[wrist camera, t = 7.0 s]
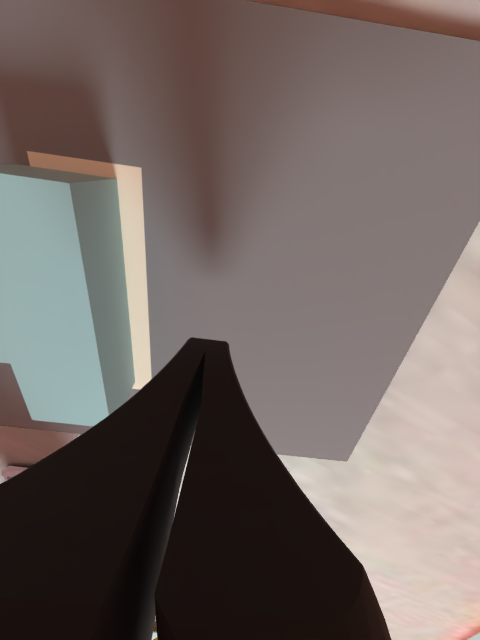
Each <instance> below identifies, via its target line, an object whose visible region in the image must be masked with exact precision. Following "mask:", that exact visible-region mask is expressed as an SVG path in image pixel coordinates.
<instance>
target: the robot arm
mask: <svg viewBox="0 0 480 640" xmlns="http://www.w3.org/2000/svg"><path fill="white" fill-rule="evenodd" d="M194 432H195V433H194ZM193 436H194V437H193ZM192 439H193V442H192ZM191 443H192V446H191ZM190 446H191V450H190ZM189 450H190V455H189V459H188V463H187V467H186V471H185V476H184V480H183V484H182V488H181V492H180V496H179V500H178V504H177V508H176V503H177V498H178V493H179V488H180V484H181V479H182V475H183V471H184V468H185V464H186V461H187V457H188V454H189ZM2 475H3V477H4V479H5V482H3V483H2V484H0V640H151V639H152V633H153V628H154V622H155V616H156V624H157V636H158V640H391V637H390V634H389V631H388V628H387V624H386V621H385V619H384V616H383V613H382V611H381V608H380V606H379V603H378V601H377V598H376V596H375V593H374V591H373V588H372V586H371V583H370V581H369V579H368V576H367V574H366V571H365V569H364V567H363V565H362V564H361V563H360V562H359V560H358V559H357V558H356V557H355V556H354V555H353V553H352V552H351V551H350V550H349V549H348V548H347V546H346V545H345V544H344V543H343V542H342V540H341V539H340V538H339V537H338V536H337V535H336V533H335V532H334V531H333V530H332V528H331V527H330V526H329V525H328V523H327V522H326V521H325V520H324V519H323V517H322V516H321V515H320V514H319V512H318V511H317V510H316V508H315V507H314V506H313V504H312V503H311V502H310V501H309V499H308V498H307V497H306V495H305V494H304V493H303V491H302V490H301V489H300V487H299V486H298V485H297V483H296V482H295V480H294V479H293V477H292V476H291V474H290V473H289V472H288V470H287V469H286V467H285V466H284V464H283V463H282V461H281V460H280V459H279V457H278V456H277V454H276V453H275V451H274V449H273V448H272V446H271V445H270V443H269V441H268V440H267V438H266V436H265V435H264V433H263V431H262V429H261V428H260V426H259V424H258V422H257V420H256V418H255V417H254V415H253V413H252V411H251V409H250V407H249V404H248V402H247V400H246V398H245V396H244V393H243V391H242V389H241V386H240V383H239V381H238V378H237V375H236V373H235V370H234V366H233V363H232V359H231V355H230V349H229V344H228V343H227V341H219V340H210V339H202V338H194V337H191V338H189V339H188V340H187V341H186V343H185V344H184V345H183V346H182V348H181V349H180V350H179V351H178V352H177V353H176V355H175V356H174V357H173V358H172V359H171V360H170V361H169V362H168V363H167V364H166V365H165V366H164V367H163V368H162V369H161V370H160V371H159V373H158V374H157V375H155V376H154V377H153V378H152V379H151V380H150V381H149V382H148V383H147V384H146V385H145V386H144V387H142V388H141V389H140V390H139V391H138V392H137V393H136V394H135V395H133V396H132V397H131V398H130V399H129V400H128V401H126V402H125V403H124V404H123V405H121V406H120V407H119V408H118V409H116V410H115V411H114V412H112V413H111V414H110V415H108V416H107V417H106V418H104V419H103V420H102V421H100V422H99V423H97V424H96V425H95V426H93V427H92V428H90V429H89V430H87V431H86V432H85V433H83V434H82V435H80V436H79V437H77V438H76V439H74V440H73V441H71V442H70V443H68V444H67V445H65V446H64V447H62V448H60V449H59V450H57V451H55V452H54V453H52V454H50V455H49V456H47V457H46V458H44V459H42V460H41V461H39V462H37V463H36V464H34V465H32V466H31V467H29V468H27V467H17V466H7V467H5V468H4V470H3V471H2ZM175 508H176V512H175ZM174 513H175V516H174ZM173 519H174V520H173Z"/></svg>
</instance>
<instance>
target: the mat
mask: <svg viewBox="0 0 480 640" xmlns="http://www.w3.org/2000/svg"><path fill="white" fill-rule="evenodd" d="M0 164H19V165H26V166H33V167H40V168H47V169H54V170H61V171H68V172H75V173H82V174H88V175H95V176H102V177H109V178H116V179H117V186H118V197H119V208H120V219H121V230H122V241H123V252H124V264H125V275H126V286H127V297H128V308H129V319H130V330H131V341H132V352H133V364H134V375H135V383H134V385H133V387H132V389H131V391H130V393H129V395H128V397H127V399H126V401H128V400H129V399H130V398H131V397H132V396H133V395H135V394H136V393H137V392H138V391H139V390H140V389H141V388H142V387H144V386H145V385H146V384H147V383H148V382H149V381H150V380H151V379H152V378H153V377H154V376H155V375H157V374H158V373H159V371H160V370H161V369H162V368H163V367H164V366H165V365H166V364H167V363H168V362H169V361H170V360H171V359H172V358H173V357H174V356H175V355H176V353H177V352H178V351H179V350H180V349H181V348H182V346H183V345H184V344H185V343H186V341H187V340H188V339H189V338H191V337H194V338H202V339H210V340H219V341H227V343H228V344H229V349H230V355H231V359H232V363H233V366H234V370H235V373H236V375H237V378H238V381H239V383H240V386H241V389H242V391H243V393H244V396H245V398H246V400H247V402H248V404H249V407H250V409H251V411H252V413H253V415H254V417H255V418H256V420H257V422H258V424H259V426H260V428H261V429H262V431H263V433H264V435H265V436H266V438H267V440H268V441H269V443H270V445H271V446H272V448H273V449H274V451H275V453H276V454H280V455H289V456H299V457H309V458H318V459H328V460H337V461H348V459H349V457H350V455H351V453H352V452H353V450H354V448H355V446H356V444H357V442H358V441H359V439H360V437H361V435H362V433H363V432H364V430H365V428H366V426H367V424H368V422H369V421H370V419H371V417H372V415H373V413H374V412H375V410H376V408H377V406H378V404H379V403H380V401H381V399H382V397H383V395H384V393H385V392H386V390H387V388H388V386H389V384H390V383H391V381H392V379H393V377H394V375H395V373H396V372H397V370H398V368H399V366H400V364H401V363H402V361H403V359H404V357H405V355H406V354H407V352H408V350H409V348H410V346H411V344H412V343H413V341H414V339H415V337H416V335H417V334H418V332H419V330H420V328H421V326H422V324H423V323H424V321H425V319H426V317H427V315H428V314H429V312H430V310H431V308H432V306H433V304H434V303H435V301H436V299H437V297H438V295H439V294H440V292H441V290H442V288H443V286H444V285H445V283H446V281H447V279H448V277H449V275H450V274H451V272H452V270H453V268H454V266H455V265H456V263H457V261H458V259H459V257H460V255H461V254H462V252H463V250H464V248H465V246H466V245H467V243H468V241H469V239H470V237H471V236H472V234H473V232H474V230H475V228H476V226H477V225H478V223H479V221H480V41H477V40H471V39H465V38H460V37H454V36H448V35H443V34H437V33H431V32H426V31H420V30H414V29H408V28H403V27H397V26H391V25H386V24H380V23H374V22H369V21H363V20H357V19H351V18H346V17H340V16H334V15H329V14H323V13H317V12H312V11H306V10H300V9H294V8H289V7H283V6H277V5H272V4H266V3H260V2H255V1H249V0H0ZM126 401H125V402H126ZM125 402H124V403H125ZM0 425H2V426H12V427H21V428H31V429H40V430H50V431H59V432H69V433H79V434H83V433H85V432H86V431H87V430H89V429H90V428H92V427H93V426H85V425H75V424H66V423H56V422H47V421H37V420H32V419H31V416H30V413H29V411H28V408H27V406H26V403H25V400H24V398H23V395H22V393H21V390H20V387H19V385H18V382H17V380H16V377H15V374H14V372H13V369H12V367H11V364H9V363H0ZM194 433H195V432H194ZM193 437H194V436H193ZM192 442H193V439H192ZM191 445H192V443H191Z"/></svg>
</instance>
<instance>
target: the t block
mask: <svg viewBox="0 0 480 640" xmlns="http://www.w3.org/2000/svg"><path fill="white" fill-rule="evenodd" d="M0 363H9V364H11V367H12V369H13V372H14V374H15V377H16V380H17V382H18V385H19V387H20V390H21V393H22V395H23V398H24V400H25V403H26V406H27V408H28V411H29V413H30V416H31V419H32V420H37V421H47V422H56V423H66V424H75V425H85V426H95V425H96V424H97V423H99V422H100V421H102V420H103V419H104V418H106V417H107V416H108V415H110V414H111V413H112V412H114V411H115V410H116V409H118V408H119V407H120V406H121V405H123V404H124V402H125V401H126V399H127V397H128V395H129V393H130V391H131V389H132V387H133V385H134V383H135V375H134V364H133V352H132V341H131V330H130V319H129V308H128V297H127V286H126V275H125V264H124V252H123V241H122V230H121V219H120V208H119V197H118V186H117V179H116V178H109V177H102V176H95V175H88V174H82V173H75V172H68V171H61V170H54V169H47V168H40V167H33V166H26V165H19V164H0Z"/></svg>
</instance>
